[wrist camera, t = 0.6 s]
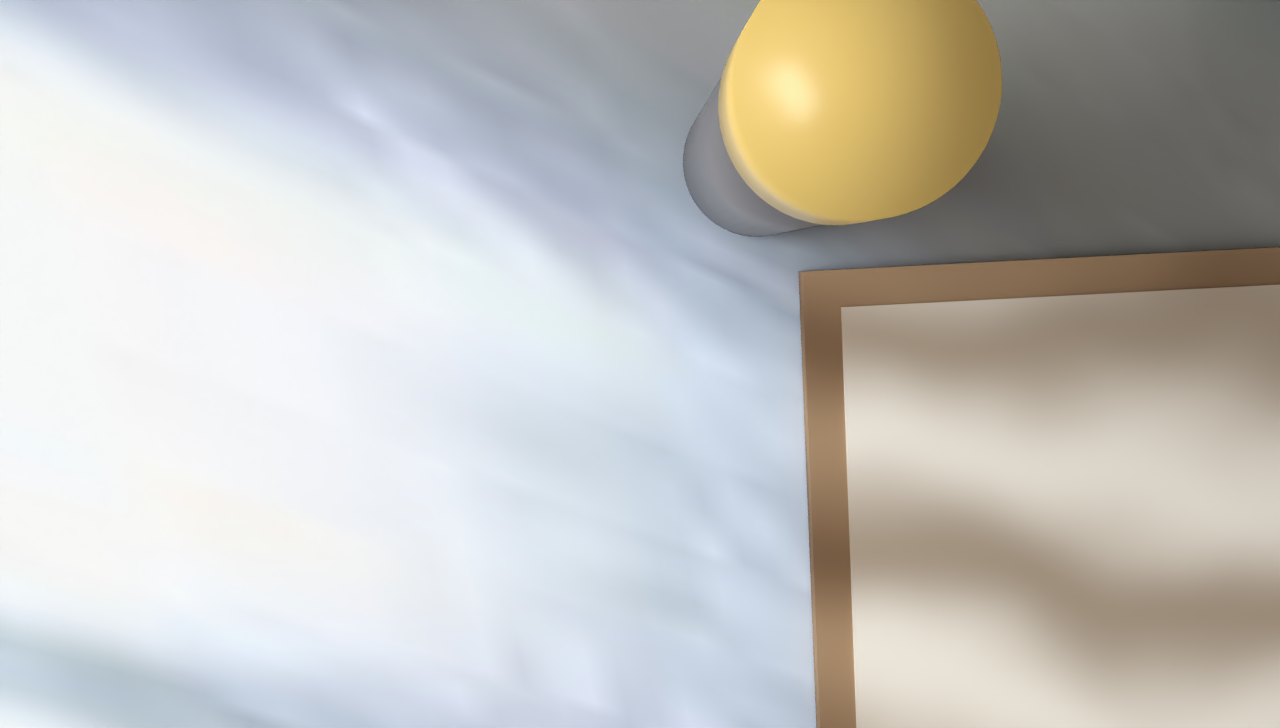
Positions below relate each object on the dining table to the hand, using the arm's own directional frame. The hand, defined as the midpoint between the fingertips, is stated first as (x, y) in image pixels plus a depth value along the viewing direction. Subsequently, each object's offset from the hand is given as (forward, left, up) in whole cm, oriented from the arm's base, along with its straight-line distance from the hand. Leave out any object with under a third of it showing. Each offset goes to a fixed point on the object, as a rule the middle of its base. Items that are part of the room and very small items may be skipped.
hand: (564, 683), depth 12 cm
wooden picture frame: (+5, +13, -20) cm, 25 cm away
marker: (-7, +5, -21) cm, 22 cm away
